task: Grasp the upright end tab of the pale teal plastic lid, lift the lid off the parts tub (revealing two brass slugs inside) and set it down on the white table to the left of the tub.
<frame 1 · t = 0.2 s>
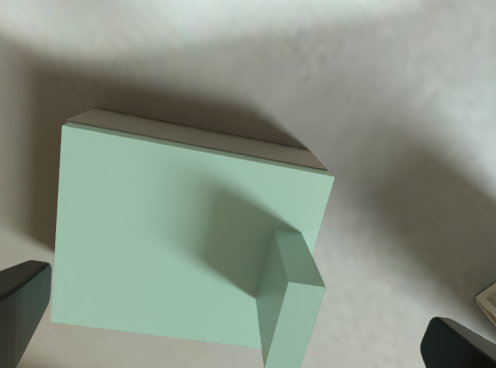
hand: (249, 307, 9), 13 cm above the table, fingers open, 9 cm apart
tub: (191, 211, 22), on the table
lid: (188, 244, 19), point 4 cm above the table, touching tub
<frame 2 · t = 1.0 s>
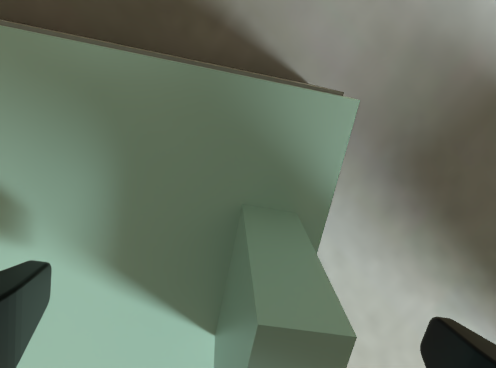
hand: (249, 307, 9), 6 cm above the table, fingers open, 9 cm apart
tub: (122, 187, 14), on the table
lid: (90, 238, 10), point 4 cm above the table, touching tub
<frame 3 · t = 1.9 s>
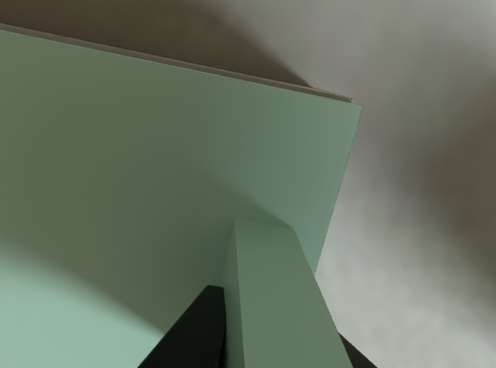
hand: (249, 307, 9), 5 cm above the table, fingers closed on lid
tub: (115, 197, 13), on the table
lid: (70, 254, 9), point 4 cm above the table, touching gripper, tub
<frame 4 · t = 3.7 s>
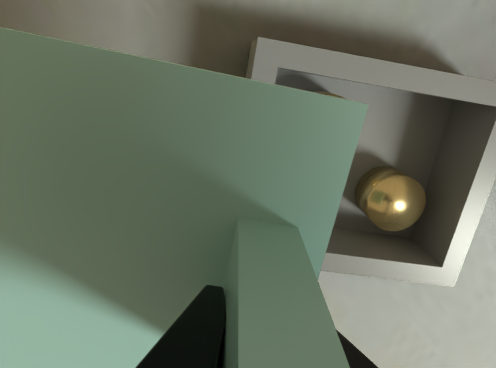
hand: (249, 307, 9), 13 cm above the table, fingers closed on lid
tub: (341, 156, 21), on the table
slug a: (381, 191, 21), point 1 cm above the table, touching tub
lid: (77, 250, 10), point 11 cm above the table, touching gripper
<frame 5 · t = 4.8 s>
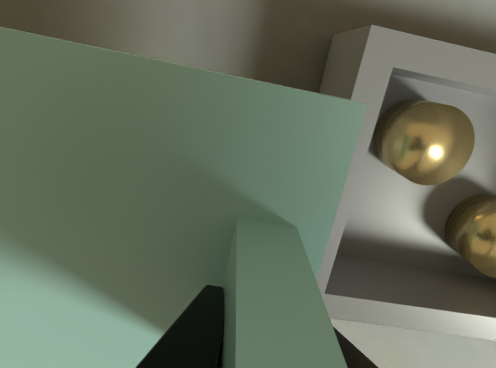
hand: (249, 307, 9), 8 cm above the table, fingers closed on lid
tub: (430, 180, 17), on the table
slug b: (408, 135, 15), point 1 cm above the table, touching tub
slug a: (476, 225, 17), point 1 cm above the table, touching tub
lid: (76, 250, 10), point 7 cm above the table, touching gripper
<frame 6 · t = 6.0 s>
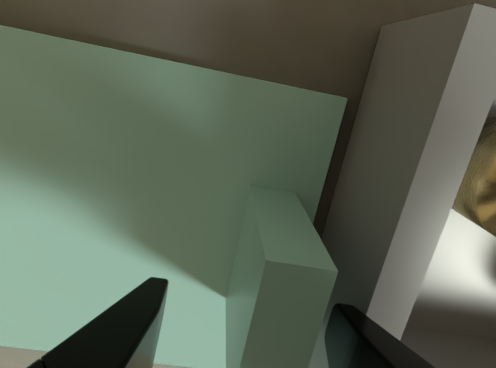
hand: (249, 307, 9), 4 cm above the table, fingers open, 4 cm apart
slug b: (483, 167, 11), point 1 cm above the table, touching tub
lid: (120, 214, 12), on the table
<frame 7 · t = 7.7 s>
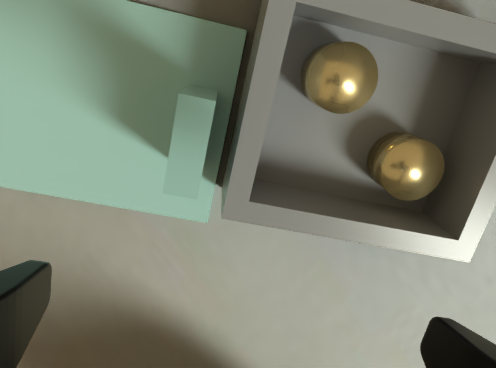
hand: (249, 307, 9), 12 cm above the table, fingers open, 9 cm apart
tub: (354, 120, 19), on the table
slug b: (331, 76, 18), point 1 cm above the table, touching tub
slug a: (394, 159, 20), point 1 cm above the table, touching tub
lid: (108, 106, 19), on the table
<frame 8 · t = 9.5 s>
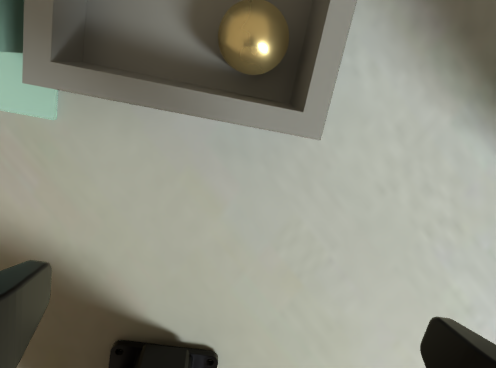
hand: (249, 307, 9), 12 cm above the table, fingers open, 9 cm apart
slug a: (250, 40, 18), point 1 cm above the table, touching tub
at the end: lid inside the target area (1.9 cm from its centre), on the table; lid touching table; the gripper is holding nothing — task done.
